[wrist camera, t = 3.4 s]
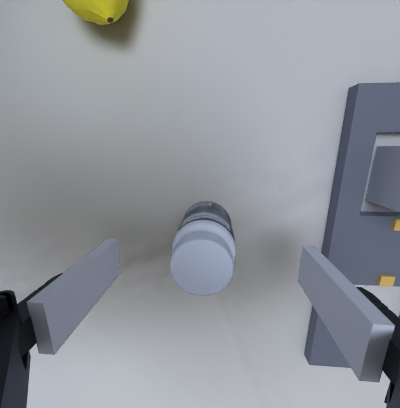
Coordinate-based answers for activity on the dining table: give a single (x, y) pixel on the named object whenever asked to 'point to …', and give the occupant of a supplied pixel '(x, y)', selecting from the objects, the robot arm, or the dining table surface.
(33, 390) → the dining table surface
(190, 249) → the pill bottle
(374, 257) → the dock
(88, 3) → the lemon
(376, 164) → the square plug
